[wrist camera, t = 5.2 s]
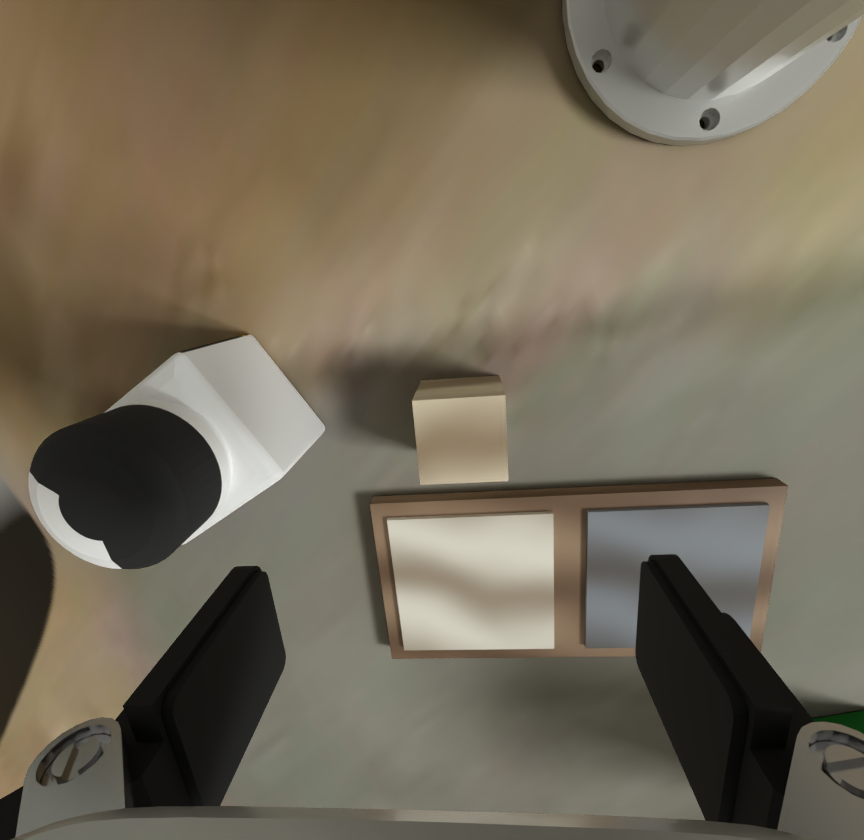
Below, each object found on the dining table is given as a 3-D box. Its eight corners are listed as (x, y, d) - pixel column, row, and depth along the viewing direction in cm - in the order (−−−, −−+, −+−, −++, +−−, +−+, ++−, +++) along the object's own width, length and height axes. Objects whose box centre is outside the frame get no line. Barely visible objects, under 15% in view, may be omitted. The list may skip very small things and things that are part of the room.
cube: (420, 380, 26) (412, 400, 22) (499, 375, 26) (505, 395, 21) (427, 452, 27) (420, 484, 23) (501, 448, 27) (508, 480, 23)
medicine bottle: (251, 330, 26) (81, 373, 14) (329, 428, 27) (230, 537, 16) (168, 397, 27) (-44, 484, 16) (245, 486, 29) (101, 622, 18)
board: (373, 496, 28) (368, 506, 27) (776, 478, 26) (791, 488, 25) (394, 647, 32) (391, 662, 31) (750, 643, 30) (763, 659, 28)
